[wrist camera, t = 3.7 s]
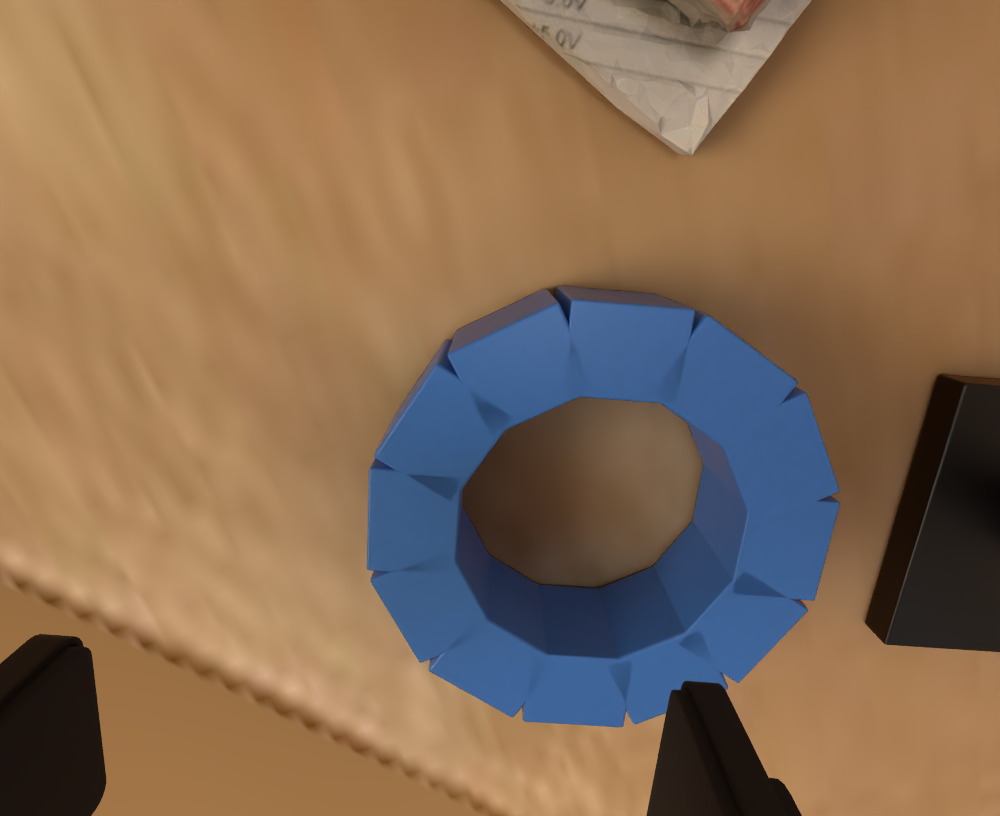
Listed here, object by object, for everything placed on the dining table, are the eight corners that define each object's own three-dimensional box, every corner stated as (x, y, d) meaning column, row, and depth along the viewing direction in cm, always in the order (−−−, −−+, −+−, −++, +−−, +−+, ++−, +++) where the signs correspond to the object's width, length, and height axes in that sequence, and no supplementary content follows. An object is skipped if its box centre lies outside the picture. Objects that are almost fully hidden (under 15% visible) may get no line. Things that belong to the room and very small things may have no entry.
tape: (383, 633, 21) (362, 712, 18) (396, 271, 18) (373, 282, 14) (733, 656, 22) (779, 737, 18) (813, 306, 18) (888, 325, 15)
